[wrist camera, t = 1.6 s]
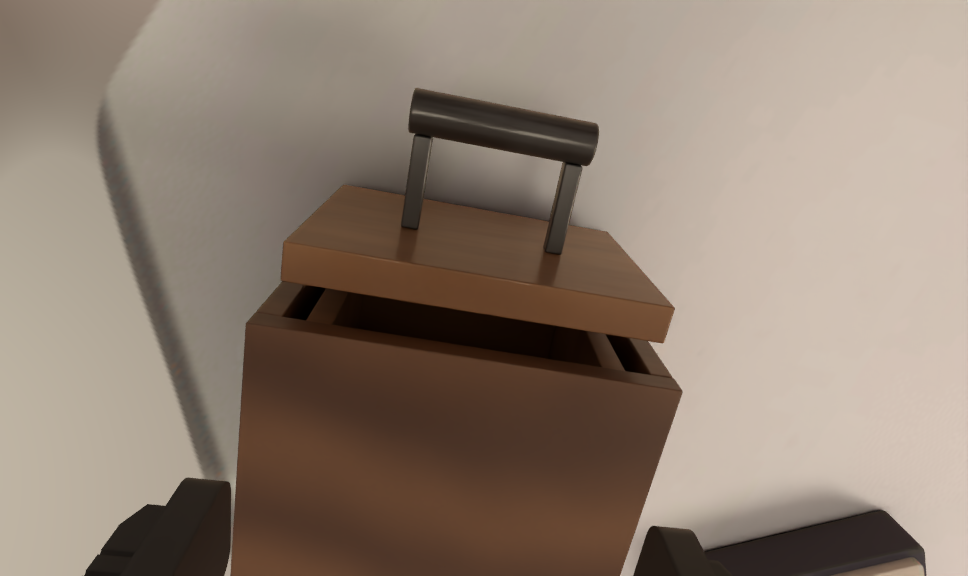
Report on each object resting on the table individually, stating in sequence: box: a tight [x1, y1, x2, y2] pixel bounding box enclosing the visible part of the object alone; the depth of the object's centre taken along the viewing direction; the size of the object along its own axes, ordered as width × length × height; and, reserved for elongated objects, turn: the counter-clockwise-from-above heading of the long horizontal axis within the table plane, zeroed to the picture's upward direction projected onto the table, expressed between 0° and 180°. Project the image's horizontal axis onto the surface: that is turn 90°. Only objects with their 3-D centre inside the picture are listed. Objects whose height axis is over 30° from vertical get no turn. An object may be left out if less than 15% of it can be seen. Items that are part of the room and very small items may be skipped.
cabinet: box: [231, 281, 682, 576], centre depth 24 cm, size 15×13×11 cm
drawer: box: [281, 88, 675, 371], centre depth 23 cm, size 18×11×9 cm, turn 169°
